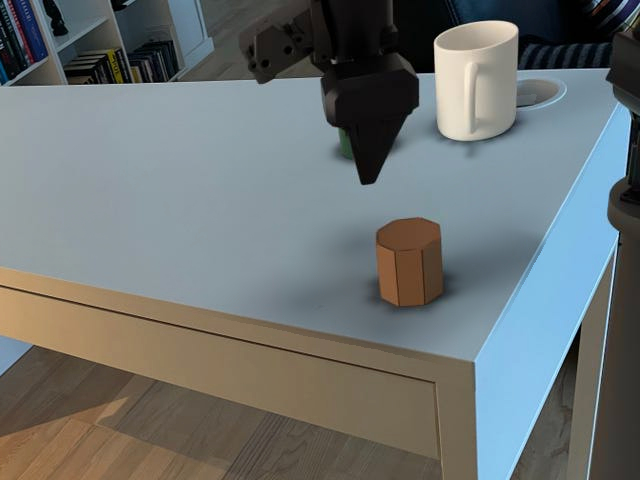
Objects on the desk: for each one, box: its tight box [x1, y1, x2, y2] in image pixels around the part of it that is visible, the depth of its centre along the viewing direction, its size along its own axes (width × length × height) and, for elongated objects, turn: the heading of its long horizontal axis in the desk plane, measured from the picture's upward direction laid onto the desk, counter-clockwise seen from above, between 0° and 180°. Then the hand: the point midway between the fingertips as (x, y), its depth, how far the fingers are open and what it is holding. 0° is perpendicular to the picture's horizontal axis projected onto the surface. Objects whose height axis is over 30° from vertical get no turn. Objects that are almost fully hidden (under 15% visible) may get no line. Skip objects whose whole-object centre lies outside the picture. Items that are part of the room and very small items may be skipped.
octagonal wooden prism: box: [375, 216, 444, 307], centre depth 66 cm, size 5×5×6 cm
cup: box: [433, 20, 519, 142], centre depth 83 cm, size 8×12×10 cm
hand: (359, 158), depth 64 cm, fingers open, 9 cm apart
